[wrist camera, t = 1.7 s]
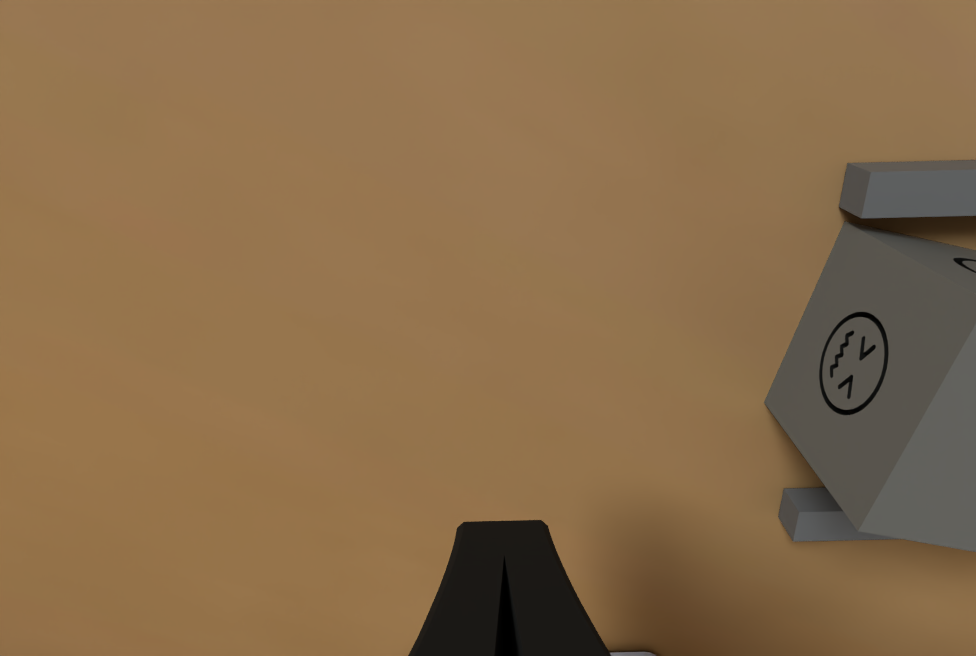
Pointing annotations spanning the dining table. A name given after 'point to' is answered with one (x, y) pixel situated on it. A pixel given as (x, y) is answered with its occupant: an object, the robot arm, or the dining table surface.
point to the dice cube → (889, 385)
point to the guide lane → (880, 197)
